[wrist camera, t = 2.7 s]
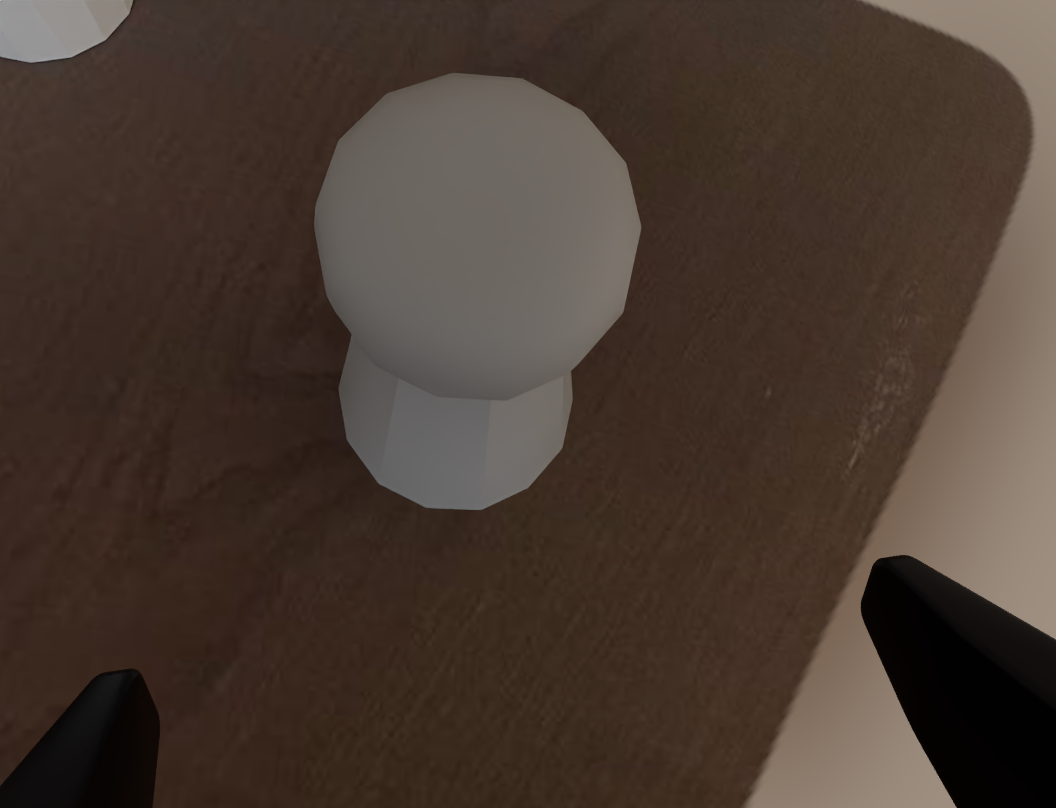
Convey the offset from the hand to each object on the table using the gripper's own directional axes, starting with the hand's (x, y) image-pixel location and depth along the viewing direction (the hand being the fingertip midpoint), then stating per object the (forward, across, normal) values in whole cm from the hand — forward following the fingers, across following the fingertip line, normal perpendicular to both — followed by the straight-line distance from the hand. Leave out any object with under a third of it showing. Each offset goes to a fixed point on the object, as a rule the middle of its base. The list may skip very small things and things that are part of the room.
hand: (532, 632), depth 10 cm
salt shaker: (+12, 0, +5) cm, 13 cm away
